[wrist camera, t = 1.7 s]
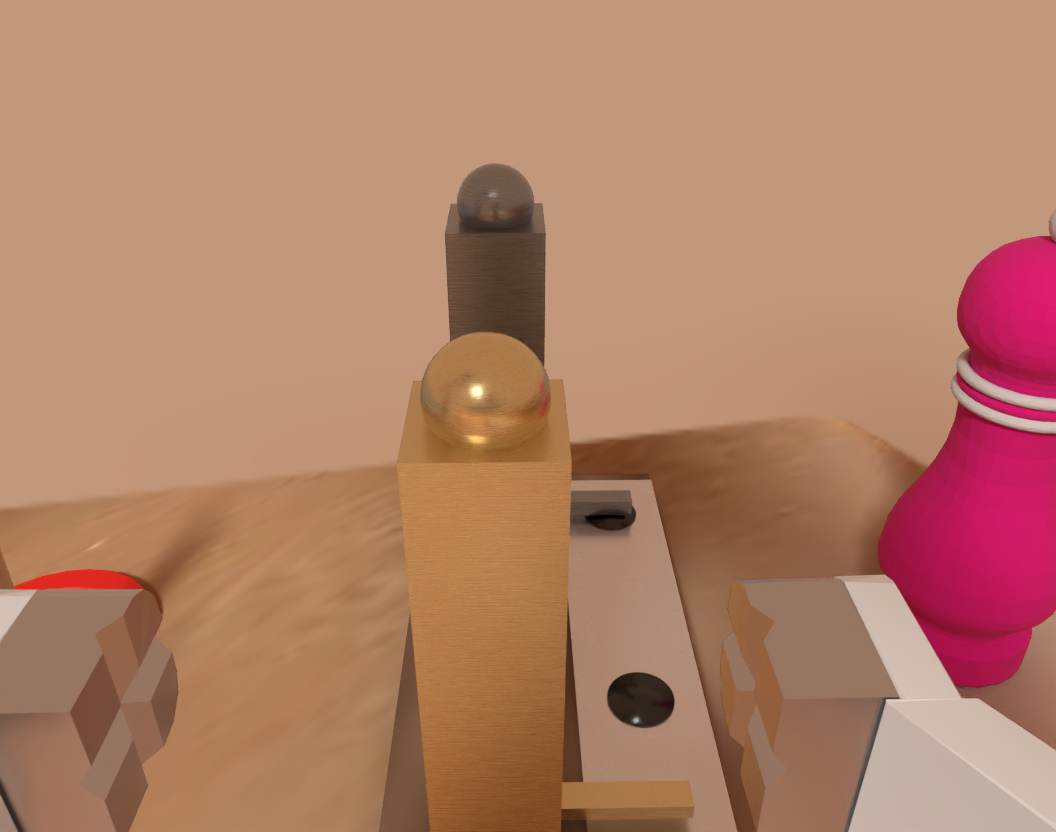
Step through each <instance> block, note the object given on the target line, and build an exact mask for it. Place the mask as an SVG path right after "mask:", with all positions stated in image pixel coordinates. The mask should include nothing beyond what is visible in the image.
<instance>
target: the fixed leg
mask: <svg viewBox="0 0 1056 832" xmlns="http://www.w3.org/2000/svg"><path fill="white" fill-rule="evenodd" d="M545 235H546V233H545V224H544V215H543V206H542V204H541V203H537V204H536V203H534V196H533V192H532V189H531V186H530V185H529V183H528V181H527V180H526V178H525V177H524V176H523V175H522V174H521V173H520V172H519V171H517V170H516V169H514V168H512V167H510V166H507V165H504V164H496V163H495V164H487V165H483V166H481V167H479V168H477V169H475V170H474V171H472V172H471V173H470V174H469V175H468V176H467V177H466V178H465V179H464V181H463V183H462V184H461V187H460V189H459V192H458V197H457V204H451V206H450V211H449V216H448V221H447V226H446V231H445V244H446V265H447V283H448V284H447V285H448V304H449V324H450V342H451V341H452V340H454V339H456V338H458V337H460V336H463V335H466V334H470V333H474V332H484V331H486V332H497V333H502V334H505V335H508V336H510V337H513V338H515V339H517V340H519V341H520V342H522V343H523V344H525V345H526V346H527V347H528V348H529V349H531V350H532V351H533V352H534V353H535V355H536V356H537V357H538V359H539V360H540V361H541V363H542V365H543V367H544V337H545V331H544V330H545ZM631 513H632V498H631V493H630V490H596V491H571V506H570V515H631Z"/></svg>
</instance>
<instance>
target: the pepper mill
mask: <svg viewBox="0 0 1056 832" xmlns="http://www.w3.org/2000/svg"><path fill="white" fill-rule="evenodd" d="M1049 233H1050V235H1051V236H1038V237H1032V238H1026V239H1021V240H1018V241H1014V242H1011V243H1008V244H1005V245H1003V246H1001V247H1000V248H998V249H996V250H994V251H992V252H991V253H990V254H989V255H988V256H986V257H985V258H984V259H983V260H982V261H980V262H979V263H978V265H977V266H976V267H975V268H974V270H973V271H972V272H971V274H970V275H969V277H968V278H967V281H966V283H965V286H964V288H963V291H962V293H961V295H960V298H959V302H958V308H957V321H958V327H959V330H960V332H961V334H962V336H963V338H964V339H965V341H966V343H967V344H968V346H969V349H967V350H966V351H964V352H963V353H961V355H960V356H959V357H958V359H957V370H958V371H957V373H956V374H955V375H954V377H953V379H952V381H951V390H952V392H953V394H954V396H955V398H956V399H957V400H958V406H957V412H956V417H955V421H954V423H953V426H952V428H951V431H950V433H949V436H948V438H947V440H946V442H945V444H944V445H943V447H942V449H941V450H940V452H939V453H938V455H937V457H936V458H935V460H934V461H933V462H932V463H931V464H930V466H929V467H928V468H927V469H926V471H925V472H924V473H923V474H922V475H921V476H920V477H919V478H918V479H917V480H916V481H915V482H914V483H913V484H912V485H911V486H910V487H909V489H908V490H907V491H906V492H905V493H904V494H903V495H902V496H901V497H900V499H899V500H898V501H897V503H896V504H895V506H894V507H893V509H892V510H891V512H890V513H889V515H888V518H887V521H886V523H885V526H884V529H883V531H882V534H881V537H880V539H879V544H878V558H879V562H880V566H881V569H882V571H883V573H884V575H886V576H887V577H889V578H890V579H892V580H893V581H894V583H895V584H896V586H897V588H898V589H899V591H900V593H901V595H902V596H903V598H904V600H905V601H906V603H907V605H908V607H909V608H910V610H911V612H912V613H913V615H914V617H915V618H916V620H917V622H918V624H919V625H920V627H921V629H922V630H923V632H924V634H925V636H926V637H927V639H928V641H929V642H930V644H931V646H932V647H933V649H934V651H935V653H936V654H937V656H938V658H939V659H940V661H941V663H942V665H943V666H944V668H945V670H946V671H947V673H948V675H949V677H950V678H951V680H952V682H953V683H954V685H956V686H965V687H983V686H989V685H995V684H999V683H1001V682H1003V681H1005V680H1007V679H1009V678H1010V677H1012V676H1013V675H1014V674H1015V673H1016V672H1017V670H1018V669H1019V667H1020V665H1021V663H1022V661H1023V658H1024V656H1025V653H1026V650H1027V647H1028V645H1029V642H1030V639H1031V635H1032V627H1035V626H1037V625H1039V624H1041V623H1042V622H1043V621H1045V620H1046V619H1048V618H1049V617H1050V616H1051V615H1053V613H1054V612H1055V610H1056V209H1055V211H1054V212H1053V214H1052V215H1051V217H1050V220H1049Z"/></svg>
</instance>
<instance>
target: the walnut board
mask: <svg viewBox="0 0 1056 832" xmlns="http://www.w3.org/2000/svg"><path fill="white" fill-rule="evenodd" d="M578 480H650V479H649V475H648V474H591V475H571V481H578ZM562 782H583V781H582V769H581V757H580V744H579V732H578V720H577V708H576V696H575V684H574V672H573V660H572V648H571V636H570V624H569V612H568V607H567V641H566V675H565V709H564V742H563V776H562ZM379 832H430V823H429V812H428V801H427V790H426V779H425V768H424V757H423V746H422V735H421V724H420V713H419V702H418V691H417V680H416V669H415V658H414V647H413V636H412V625H411V614H410V617H409V624H408V631H407V638H406V645H405V652H404V659H403V666H402V673H401V681H400V688H399V695H398V702H397V709H396V716H395V723H394V730H393V737H392V745H391V752H390V759H389V766H388V773H387V780H386V787H385V794H384V801H383V809H382V816H381V823H380V830H379ZM561 832H587V829H586V820H561Z"/></svg>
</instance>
